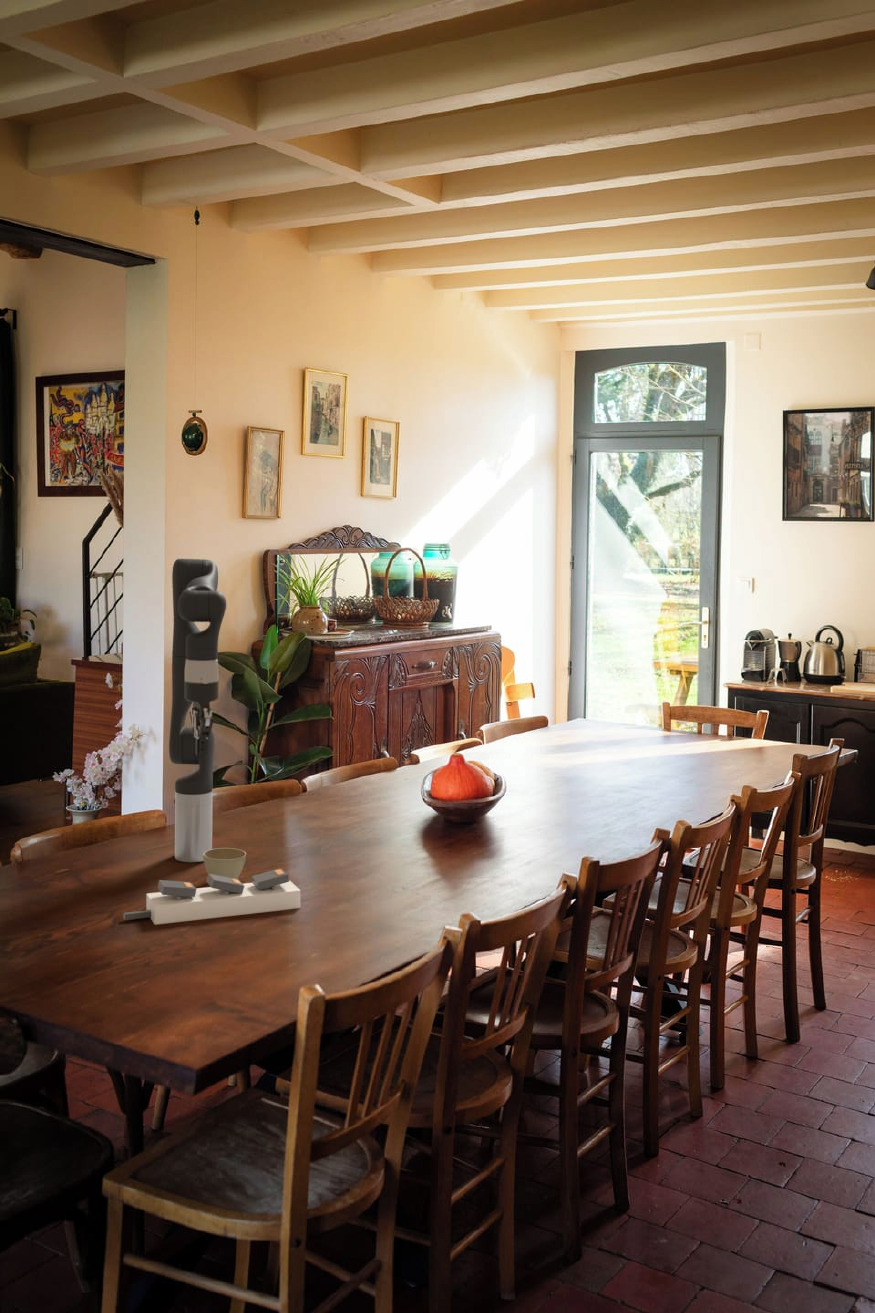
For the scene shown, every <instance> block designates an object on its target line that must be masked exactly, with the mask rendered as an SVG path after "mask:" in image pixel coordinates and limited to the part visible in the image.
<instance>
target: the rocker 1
mask: <svg viewBox="0 0 875 1313" xmlns="http://www.w3.org/2000/svg"><path fill="white" fill-rule="evenodd" d="M157 885H158V886H157V889H158V892H161V893H162V895H171V896H186V897H195V894H196V888H197V887H196V886H195V885H194V884H193V883H192V881H179V880H164V879H163V880H162V879H159V880H158V884H157Z"/></svg>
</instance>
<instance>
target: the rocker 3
mask: <svg viewBox="0 0 875 1313" xmlns="http://www.w3.org/2000/svg"><path fill="white" fill-rule="evenodd" d="M289 880H290V879H289V874H288V872H287V871H285V870H284V869H283V868H282V867H280V868H276V869H272V870H269V871H265V872H261V873H258V874H255V875H251V883H253V885H254V886H255V887H256V888H257V889H258V890H262V889H265V888H269V887H272V886H276V885H279V884H283V883H287V882H289Z"/></svg>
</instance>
